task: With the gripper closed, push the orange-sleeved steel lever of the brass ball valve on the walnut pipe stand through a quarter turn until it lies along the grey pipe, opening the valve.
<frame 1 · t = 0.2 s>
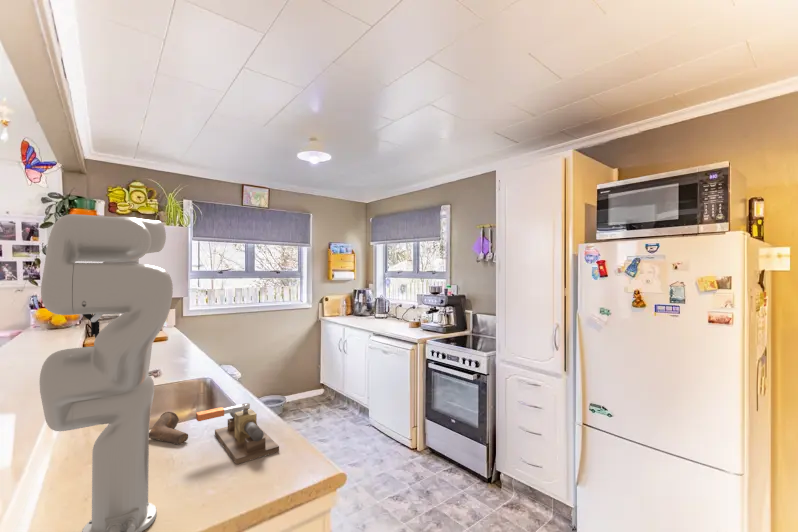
hand: (120, 335, 98), 36 cm above the worktop, tool pointing down, fingers open, 9 cm apart
valve stand: (245, 442, 117), on the worktop
pipe: (172, 437, 121), on the worktop
valve lever: (224, 411, 113), point 11 cm above the worktop, hinge at 0.0°
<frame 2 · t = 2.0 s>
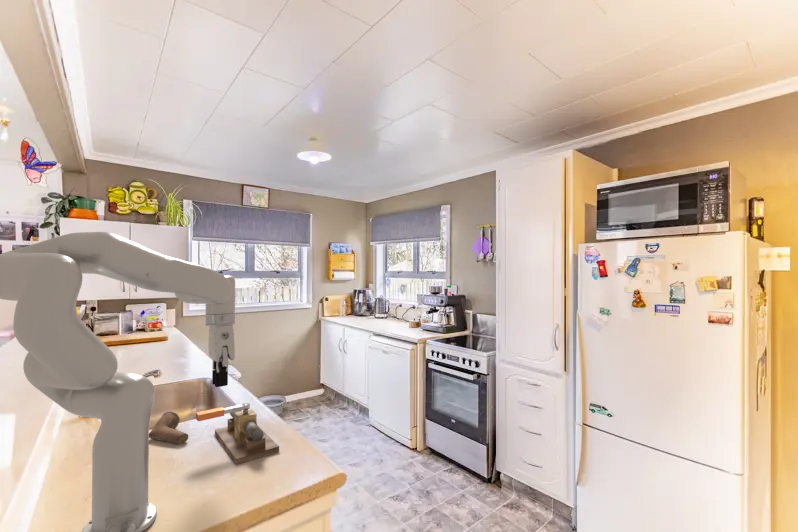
hand: (219, 384, 106), 21 cm above the worktop, tool pointing down, fingers closed
nothing on the worktop moved.
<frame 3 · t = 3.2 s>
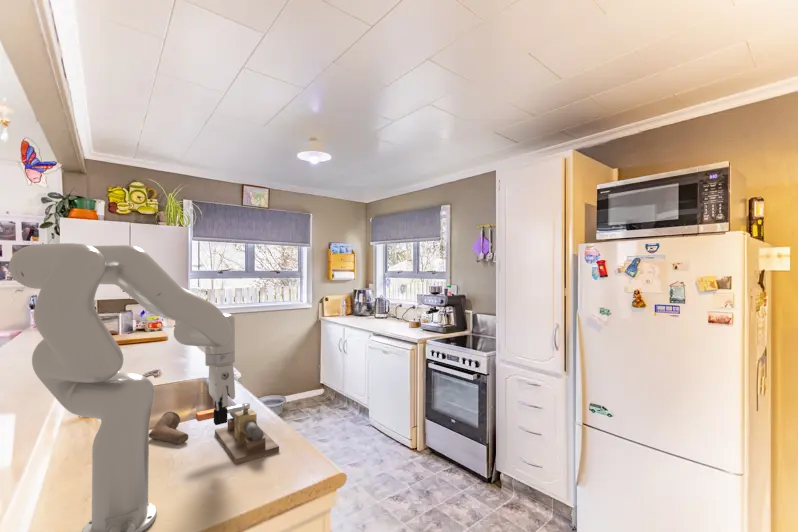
hand: (220, 422, 107), 10 cm above the worktop, tool pointing down, fingers closed
nothing on the worktop moved.
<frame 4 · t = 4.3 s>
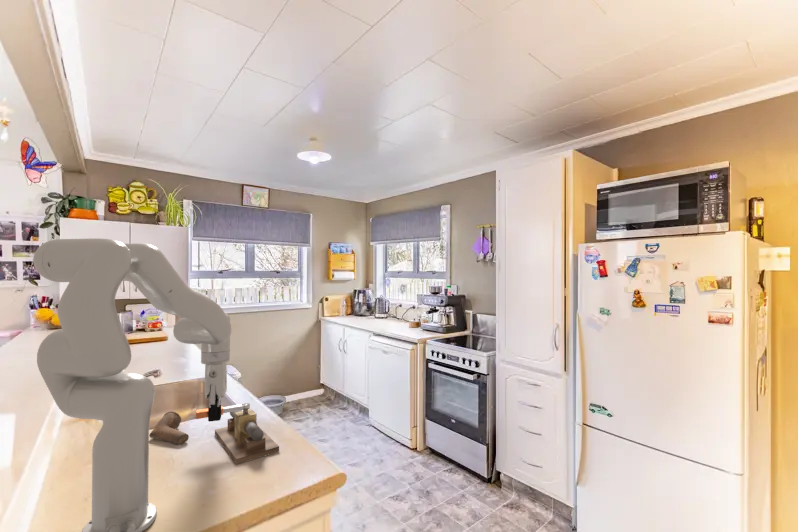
hand: (214, 419, 110), 10 cm above the worktop, tool pointing down, fingers closed
valve lever: (223, 410, 114), point 11 cm above the worktop, hinge at 9.3°, touching gripper
everything else where it was.
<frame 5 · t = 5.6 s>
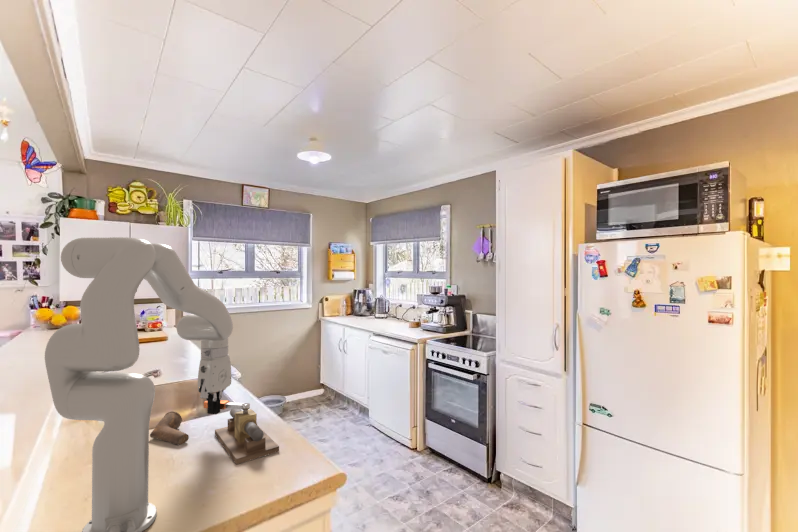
hand: (213, 412, 115), 10 cm above the worktop, tool pointing down, fingers closed
valve lever: (227, 405, 118), point 11 cm above the worktop, hinge at 48.7°, touching gripper
everything else where it was.
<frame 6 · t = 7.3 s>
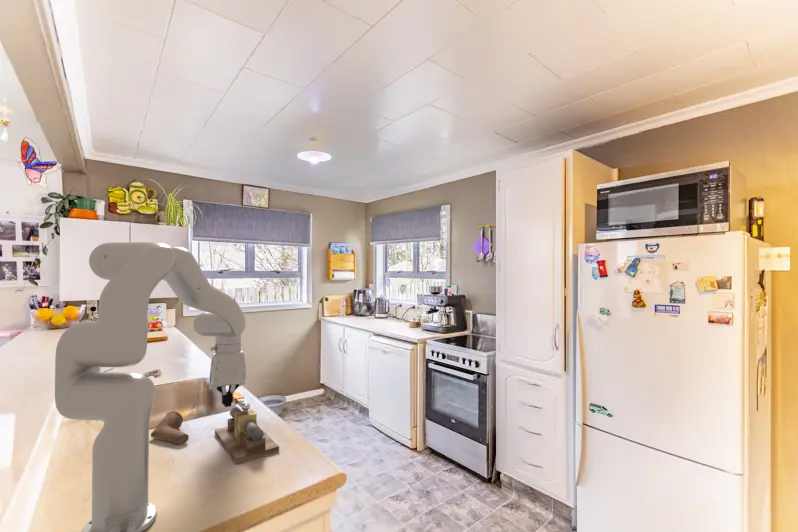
hand: (227, 405, 122), 10 cm above the worktop, tool pointing down, fingers closed
valve lever: (240, 400, 122), point 11 cm above the worktop, hinge at 91.0°, touching gripper
everything else where it was.
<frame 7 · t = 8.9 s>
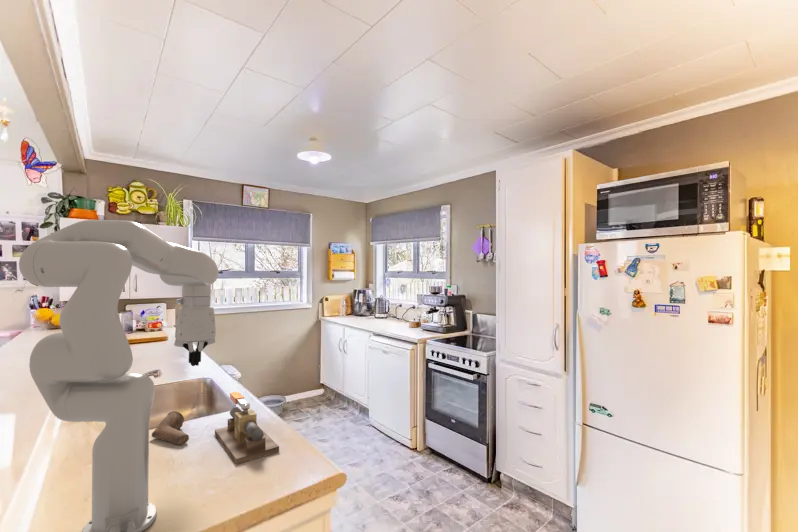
hand: (194, 364, 112), 25 cm above the worktop, tool pointing down, fingers closed
valve lever: (240, 400, 122), point 11 cm above the worktop, hinge at 91.2°
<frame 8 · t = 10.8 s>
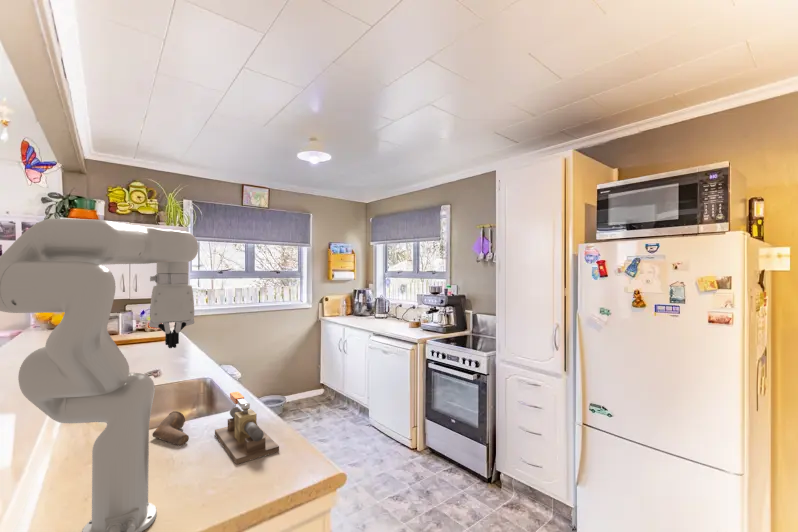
hand: (172, 347, 104), 32 cm above the worktop, tool pointing down, fingers closed
at the end: valve lever at +91° (first picture: +0°) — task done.
